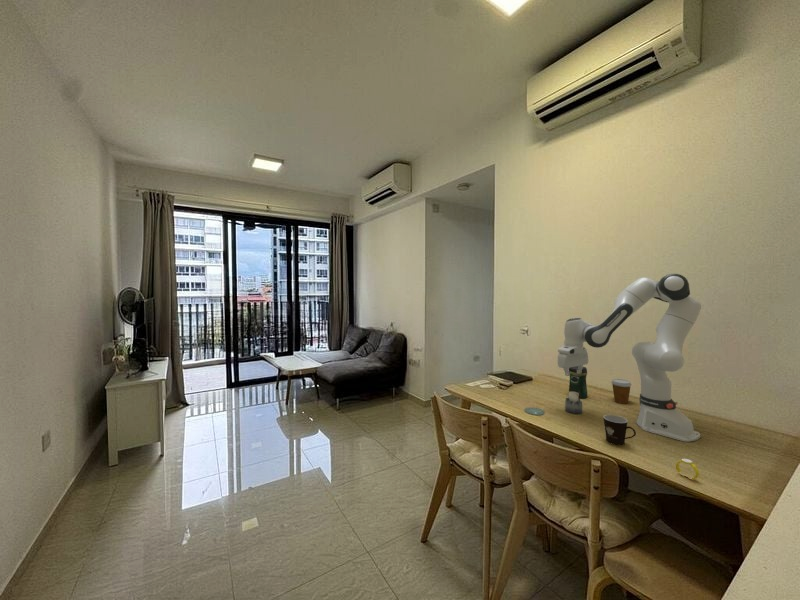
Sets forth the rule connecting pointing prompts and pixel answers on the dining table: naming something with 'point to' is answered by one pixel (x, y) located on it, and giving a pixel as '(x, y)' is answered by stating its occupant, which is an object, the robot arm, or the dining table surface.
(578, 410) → the blue-gray holder
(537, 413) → the coaster
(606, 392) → the dining table surface
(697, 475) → the watch
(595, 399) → the dining table surface
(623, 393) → the disposable coffee cup
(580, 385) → the coffee jar
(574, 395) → the cap
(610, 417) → the coffee mug
